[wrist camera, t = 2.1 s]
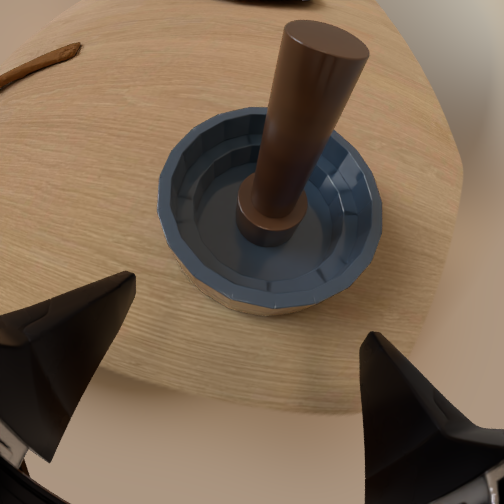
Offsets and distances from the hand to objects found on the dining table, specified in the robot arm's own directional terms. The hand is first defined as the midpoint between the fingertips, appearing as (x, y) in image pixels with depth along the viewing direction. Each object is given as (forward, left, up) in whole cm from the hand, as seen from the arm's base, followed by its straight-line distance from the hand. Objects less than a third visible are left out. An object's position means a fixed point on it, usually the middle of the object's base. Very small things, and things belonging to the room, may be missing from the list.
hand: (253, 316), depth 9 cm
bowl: (+7, -3, -9) cm, 12 cm away
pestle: (+7, -3, -8) cm, 11 cm away
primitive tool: (+40, +32, -9) cm, 53 cm away
